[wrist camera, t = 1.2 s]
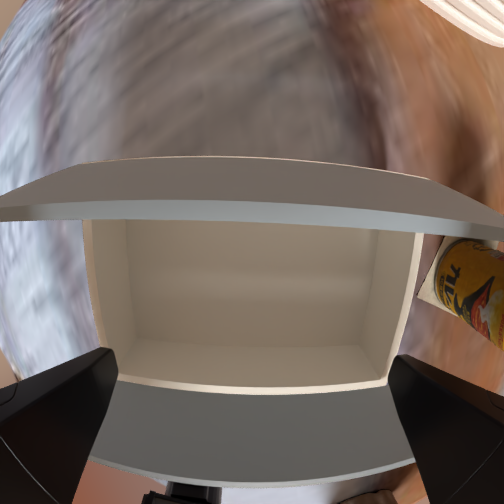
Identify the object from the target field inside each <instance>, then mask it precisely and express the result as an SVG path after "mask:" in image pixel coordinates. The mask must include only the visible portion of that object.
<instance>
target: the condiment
mask: <svg viewBox="0 0 504 504" xmlns="http://www.w3.org/2000/svg"><path fill="white" fill-rule="evenodd" d="M498 243H499V241H493V240H484V239H475V238H466V237H462V238H459V237H457V236H447V235H446V236H445V238H444V240H443V242H442V244H441V246H440V248H439V250H438V252H437V255H436V257H435V259H434V262H433V264H432V266H431V268H430V270H429V272H428V274H427V276H426V278H425V281H424V283H423V284H422V287H421V288H420V291H419V293H418V296H417V298H420V299H422V300H424V301H426V302H428V303H430V304H433V305H435V306H437V307H439V308H441V309H443V310H445V311H447V312H449V313H451V314H453V315H455V316H457V317H459V318H461V319H463V320H464V321H465V322H466V323H467V324H469V325H470V326H472V327H473V328H474V329H475V330H476V331H478V332H480V333H481V334H482V335H483V336H485V337H486V338H487V339H488V340H490V341H491V342H492V343H494V344H495V345H496V346H497V347H498V348H500V349H501V350H502V351H504V253H502V252H500V251H499V250H496V249H497V246H498Z"/></svg>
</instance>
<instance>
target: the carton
mask: <svg viewBox="0 0 504 504" xmlns="http://www.w3.org/2000/svg"><path fill="white" fill-rule="evenodd" d="M172 157H238V156H172ZM147 158H169V157H147ZM240 158H263V157H240ZM131 159H145V158H131ZM264 159H280V158H264ZM118 160H129V159H118ZM281 160H294V159H281ZM106 161H116V160H106ZM295 161H306V160H295ZM96 162H105V161H96ZM306 162H316V161H306ZM87 163H94V162H87ZM317 163H326V162H317ZM82 164H85V163H82ZM327 164H335V163H327ZM336 165H343V164H336ZM344 166H351V165H344ZM352 167H359V166H352ZM359 168H366V167H359ZM366 169H372V168H366ZM373 170H379V169H373ZM380 171H385V170H380ZM386 172H391V171H386ZM392 173H397V172H392ZM398 174H402V173H398ZM403 175H408V174H403ZM408 176H413V175H408ZM414 177H418V176H414ZM419 178H423V177H419ZM424 179H428V178H424ZM82 223H83V239H84V251H85V261H86V270H87V278H88V285H89V292H90V298H91V304H92V310H93V315H94V320H95V325H96V330H97V335H98V339H99V343H100V347H106V348H111V349H112V350H113V351H114V353H115V357H116V362H117V366H118V371H119V373H118V378H117V380H122V381H127V382H132V383H138V384H144V385H150V386H157V387H164V388H171V389H180V390H189V391H199V392H212V393H228V394H261V395H276V394H308V393H324V392H336V391H347V390H356V389H364V388H372V387H379V386H385V385H386V383H387V381H388V373H389V371H390V368H391V365H392V362H393V359H394V357H395V356H396V355H397V352H398V349H399V345H400V342H401V339H402V335H403V332H404V328H405V325H406V321H407V317H408V314H409V310H410V306H411V301H412V297H413V293H414V288H415V283H416V279H417V273H418V268H419V263H420V257H421V251H422V244H423V237H424V233H415V232H404V231H392V230H379V229H366V228H352V227H337V226H320V225H303V224H283V223H261V222H235V221H202V220H144V219H91V220H82Z"/></svg>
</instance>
